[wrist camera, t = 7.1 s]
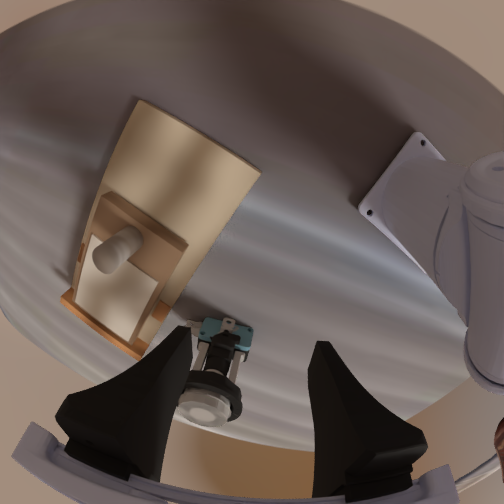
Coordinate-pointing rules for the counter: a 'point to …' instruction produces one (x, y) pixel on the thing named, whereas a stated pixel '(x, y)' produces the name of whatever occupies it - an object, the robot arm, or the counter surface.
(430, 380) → the counter surface
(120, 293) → the carriage
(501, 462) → the pottery
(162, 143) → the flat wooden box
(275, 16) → the counter surface
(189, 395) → the push button
